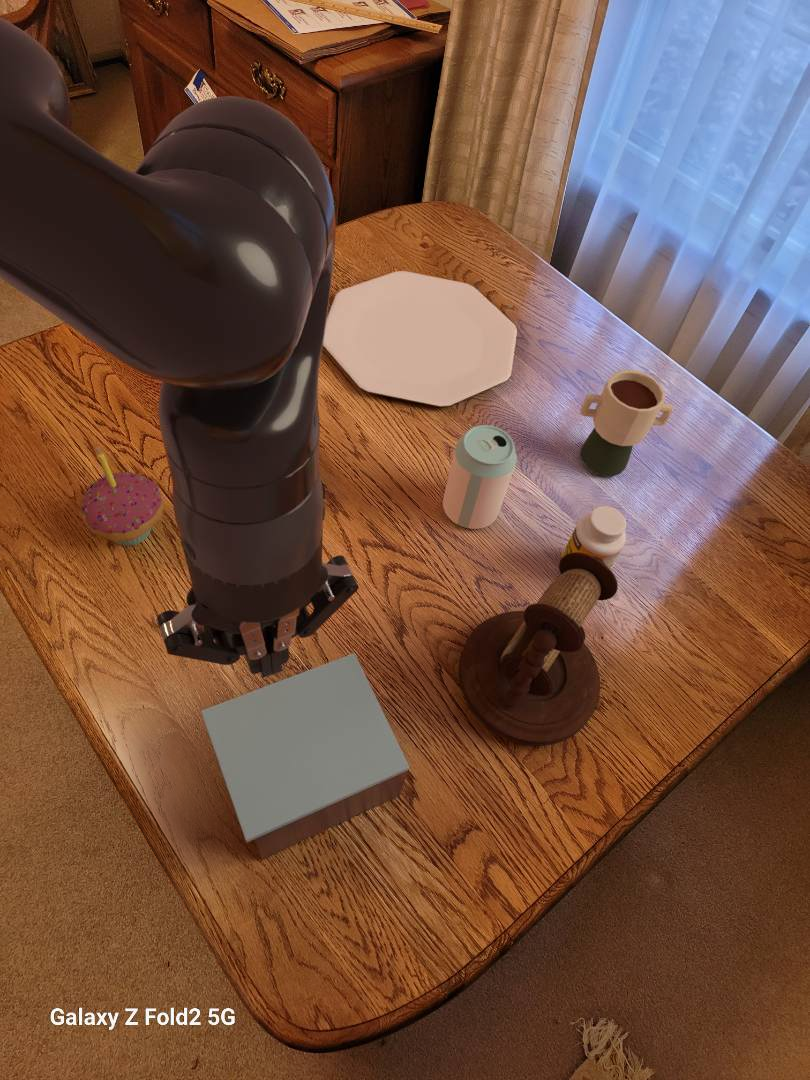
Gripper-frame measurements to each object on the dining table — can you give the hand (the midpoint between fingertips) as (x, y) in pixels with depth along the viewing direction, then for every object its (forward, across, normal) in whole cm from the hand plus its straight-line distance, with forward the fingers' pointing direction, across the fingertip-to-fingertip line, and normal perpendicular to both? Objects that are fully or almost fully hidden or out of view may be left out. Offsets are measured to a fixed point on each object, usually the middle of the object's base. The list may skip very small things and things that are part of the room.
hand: (267, 663), depth 54 cm
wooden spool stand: (+22, -27, +2) cm, 35 cm away
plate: (+22, -40, -51) cm, 68 cm away
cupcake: (+22, +6, -32) cm, 40 cm away
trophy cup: (+22, -53, -22) cm, 61 cm away
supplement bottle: (+22, -40, -8) cm, 47 cm away
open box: (+22, -3, +2) cm, 22 cm away
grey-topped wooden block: (+14, -2, +2) cm, 14 cm away
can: (+22, -32, -21) cm, 44 cm away
